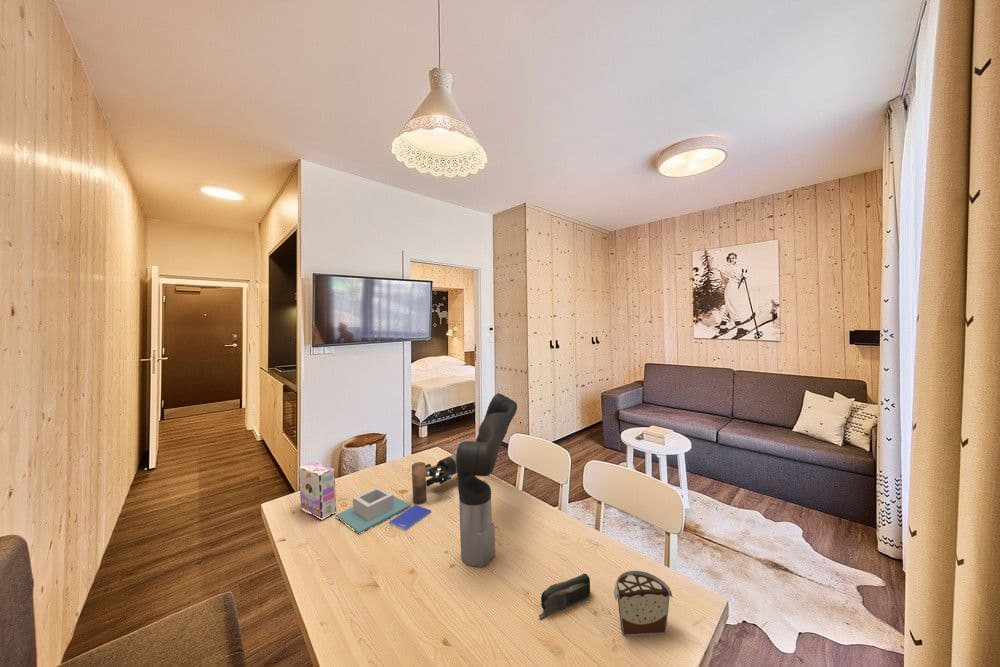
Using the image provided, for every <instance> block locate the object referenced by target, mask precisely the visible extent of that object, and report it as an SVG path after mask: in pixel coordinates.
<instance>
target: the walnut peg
mask: <svg viewBox="0 0 1000 667" xmlns="http://www.w3.org/2000/svg"><path fill="white" fill-rule="evenodd" d="M425 465H426V463H425V462H422V461H420V462H419V461H417V462H415V463H413V464H411V478H412V479H411V480H412V481H411V482H412V484H411V485H412V503H413V504H414V505H423V504H424V503H426V502H427V486H426V480H427V479H426V478H427V477H426V472H425Z"/></svg>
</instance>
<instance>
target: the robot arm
mask: <svg viewBox="0 0 1000 667" xmlns="http://www.w3.org/2000/svg"><path fill="white" fill-rule="evenodd" d="M517 409H518V404H517V402H516V401H515V400H514V399H511V398H510V397H508V396H505V395H504V394H502V393H499V392H498V393H496V394H495V395H494V396H493V397H492V399H491V401H489V404H488V407H487V410H486V412H485V415H484V418H483V420H482V422H481V423H480V425H479V427H478V428H479V429H478V435H477V436H476V439H475V441H469V440H468V441H465V440H464V441H461V442H460V443H459V445H458V447H457V450H456V453H454V454H451V455H449V456H447V457H445V458H442V459H440V460H439V461H438V462H437V464H436V465H433V466H432V465H431V463H427V464H425V472H426V478H428V479H426V487H429V486H431V485H434V484H440V485H443V484H444V483H446V482H448V481H449V480H451V479H452V476H454V475H456V476H457V489H458V490H457V492H458V496H459V498H458V501H459V538H460V559H461V561H462V562H463V563H464V564H466V565H468V566H471V567H480V568H483V567H484V566H485V565H487V564H488V563H489V562H490V561H491V560H492V559H493V558H495V556H496V536H495V535H496V532H495V531H496V530H495V527H496V526H495V523H493V522H492V521H493V519H492V513H493V512H492V488H491V486H490V485H489V483H487V482H486V481H484V480H481V479H480V478H479V477H486V476H490V475H492V472H493V471H494V469H495V466H496V463H497V460H498V456H499V455H498V454H499V451H500V448H501V446H502V443H503V441H504V439H505V437H506V435H507V432H508V430H509V426H510V423H511V422H512V421H513V419H514V417H515V415H516V413H517ZM429 477H430V478H429Z"/></svg>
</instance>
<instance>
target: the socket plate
mask: <svg viewBox="0 0 1000 667" xmlns="http://www.w3.org/2000/svg"><path fill="white" fill-rule="evenodd" d="M352 505H353V506H352V507H350V508H348V509H346V510H343V511H341V512H339V513H336V514H335V518H336V517H338V518H339V519H341V520H342V521H343V522H345V523H346V524H347V525H349V526H350V527H351V528H353V529H354V530H355V531H356V532H358V533H361V532H363V531H365V530H367V529H369V530H371V529H372V528H371V527H373V528H375V527H377V526H379V525H380V523H381V524H382V523H384V522H386V521H388V520H390V519H392V518H393V516H394V517H395V515H396V516H398V515H400V514H402V513H403V512H405V511H406V509H407V510H408V508H410V507H412V506H411V503H408V502H405V501H404V500H403V499H401V498H398V497H397V496H395V495H394V494H393V493H391V492H389V491H387V490H385V489H384V488H382V487H381V486H380V487H379V486H377V487H375V488H372V489H369V490H367V491H366V492H363V493H360V494H358V495H357V496H354V497H352ZM391 517H392V518H391ZM389 518H390V519H389ZM387 519H388V520H387ZM385 520H386V521H385ZM383 521H384V522H383ZM378 524H379V525H378ZM376 525H377V526H376ZM374 526H375V527H374ZM370 528H371V529H370ZM367 531H368V530H367ZM356 532H355V533H356Z"/></svg>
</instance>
